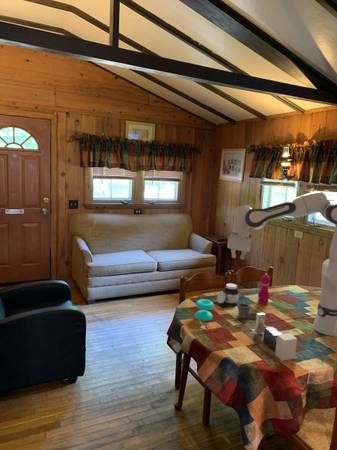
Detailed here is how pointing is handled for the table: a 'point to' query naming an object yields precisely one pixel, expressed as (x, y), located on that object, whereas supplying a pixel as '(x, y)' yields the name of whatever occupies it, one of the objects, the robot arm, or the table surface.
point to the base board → (259, 340)
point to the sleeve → (270, 337)
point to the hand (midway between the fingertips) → (237, 258)
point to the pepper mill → (264, 290)
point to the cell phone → (204, 327)
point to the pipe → (245, 311)
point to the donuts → (202, 313)
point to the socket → (286, 346)
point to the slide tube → (261, 324)
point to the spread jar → (229, 294)
